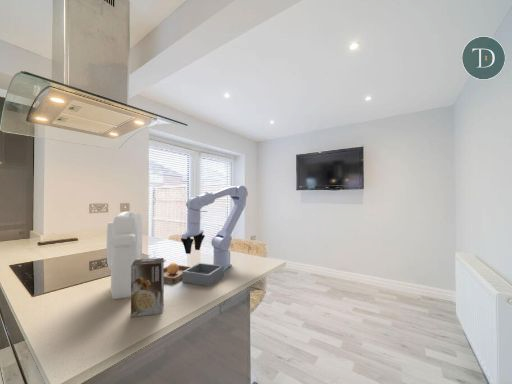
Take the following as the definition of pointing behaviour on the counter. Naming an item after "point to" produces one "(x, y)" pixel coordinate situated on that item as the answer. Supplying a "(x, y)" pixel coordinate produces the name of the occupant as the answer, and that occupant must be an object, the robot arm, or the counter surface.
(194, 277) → the bin
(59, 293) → the counter surface
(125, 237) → the white tall piece
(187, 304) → the counter surface
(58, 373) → the counter surface
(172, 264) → the ball
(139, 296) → the coffee box
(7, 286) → the counter surface
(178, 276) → the tray
